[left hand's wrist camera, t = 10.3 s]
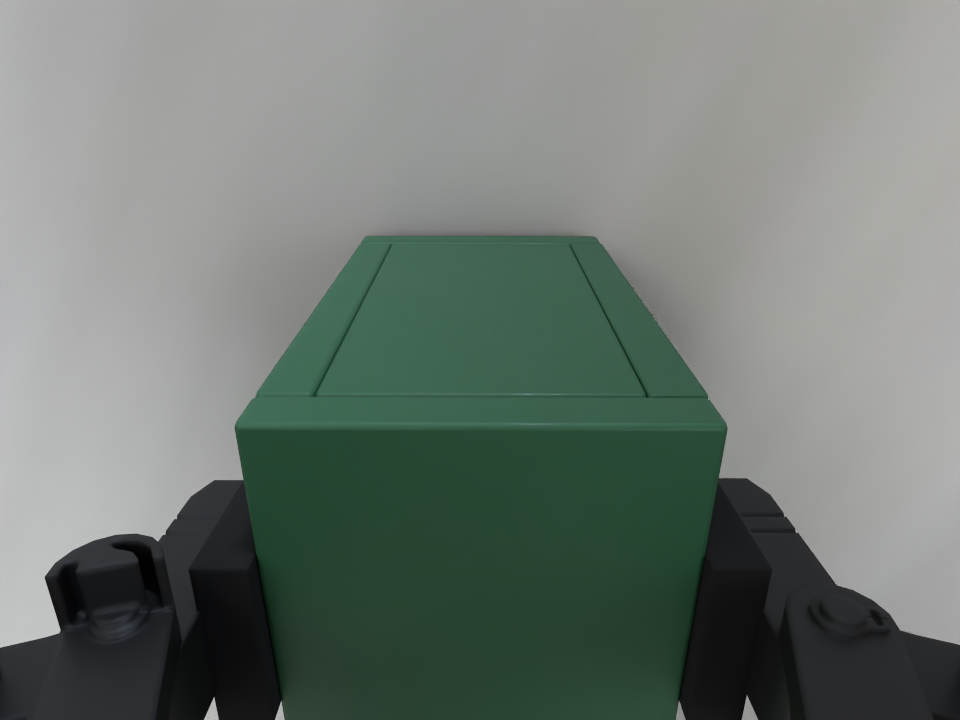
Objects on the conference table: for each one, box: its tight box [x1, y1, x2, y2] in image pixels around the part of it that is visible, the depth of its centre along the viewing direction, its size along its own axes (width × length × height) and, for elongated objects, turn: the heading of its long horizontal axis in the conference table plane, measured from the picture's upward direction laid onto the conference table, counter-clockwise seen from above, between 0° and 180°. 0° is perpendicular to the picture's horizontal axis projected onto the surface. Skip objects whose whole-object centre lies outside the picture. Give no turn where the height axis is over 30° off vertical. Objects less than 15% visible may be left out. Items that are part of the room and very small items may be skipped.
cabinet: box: [235, 236, 727, 720], centre depth 16 cm, size 19×6×10 cm, turn 0°
